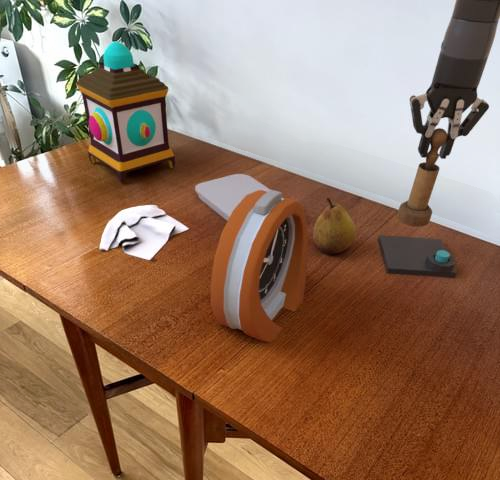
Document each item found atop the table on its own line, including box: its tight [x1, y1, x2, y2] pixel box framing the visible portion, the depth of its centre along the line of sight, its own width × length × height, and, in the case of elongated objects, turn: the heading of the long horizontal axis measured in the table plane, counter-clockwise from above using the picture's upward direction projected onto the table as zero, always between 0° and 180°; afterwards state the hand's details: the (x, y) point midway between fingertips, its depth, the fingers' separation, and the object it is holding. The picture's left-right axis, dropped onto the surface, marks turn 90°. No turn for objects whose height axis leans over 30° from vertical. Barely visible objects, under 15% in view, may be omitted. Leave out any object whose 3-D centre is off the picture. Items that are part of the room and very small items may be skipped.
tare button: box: [435, 250, 451, 263], centre depth 95 cm, size 3×3×2 cm
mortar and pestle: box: [396, 127, 447, 227], centre depth 90 cm, size 7×6×18 cm
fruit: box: [312, 197, 356, 255], centre depth 98 cm, size 9×9×12 cm
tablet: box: [194, 173, 284, 222], centre depth 114 cm, size 16×26×2 cm, turn 35°
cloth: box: [99, 204, 190, 261], centre depth 103 cm, size 20×22×2 cm
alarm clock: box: [210, 189, 309, 343], centre depth 78 cm, size 22×10×23 cm, turn 151°
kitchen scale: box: [377, 234, 457, 279], centre depth 100 cm, size 14×13×3 cm
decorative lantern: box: [75, 40, 176, 184], centre depth 119 cm, size 20×20×30 cm
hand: (432, 156), depth 87 cm, fingers closed on mortar and pestle, 3 cm apart
